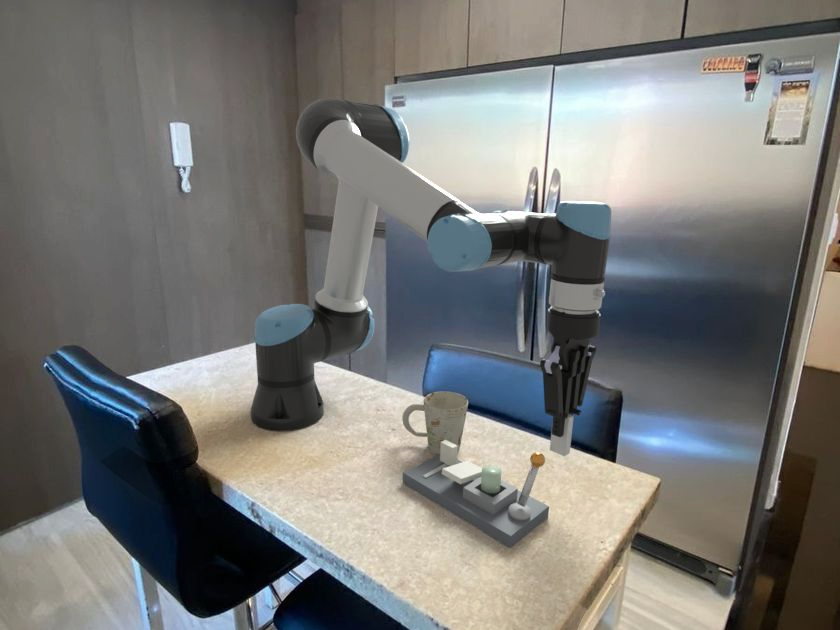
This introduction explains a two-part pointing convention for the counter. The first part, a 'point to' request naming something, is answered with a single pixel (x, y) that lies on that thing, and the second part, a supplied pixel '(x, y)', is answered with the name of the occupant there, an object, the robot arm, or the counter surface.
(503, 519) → the panel
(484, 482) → the button
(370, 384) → the counter surface
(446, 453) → the slider
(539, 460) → the lever
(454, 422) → the mug
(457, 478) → the plate
